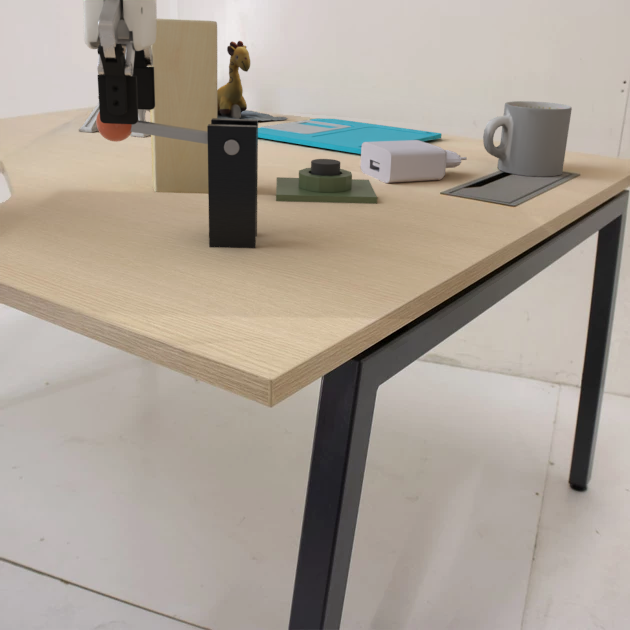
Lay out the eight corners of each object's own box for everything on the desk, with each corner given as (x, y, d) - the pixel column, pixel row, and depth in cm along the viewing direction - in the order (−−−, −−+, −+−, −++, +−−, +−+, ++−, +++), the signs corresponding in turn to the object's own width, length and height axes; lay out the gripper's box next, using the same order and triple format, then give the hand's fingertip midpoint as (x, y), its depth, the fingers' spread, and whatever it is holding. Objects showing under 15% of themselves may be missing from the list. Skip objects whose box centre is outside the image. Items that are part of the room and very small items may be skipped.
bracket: (166, 267, 74) (161, 127, 69) (178, 240, 82) (174, 114, 78) (295, 269, 75) (298, 131, 70) (294, 242, 83) (297, 117, 78)
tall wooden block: (211, 183, 109) (208, 19, 101) (219, 195, 102) (217, 21, 94) (151, 184, 107) (144, 17, 99) (156, 197, 100) (149, 19, 92)
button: (311, 178, 96) (311, 163, 96) (310, 172, 100) (310, 158, 99) (340, 179, 97) (341, 164, 96) (338, 173, 100) (339, 159, 99)
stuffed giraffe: (226, 124, 159) (227, 39, 154) (177, 116, 171) (175, 38, 166) (287, 121, 169) (290, 42, 164) (236, 114, 182) (237, 40, 177)
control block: (275, 212, 95) (276, 179, 93) (276, 193, 104) (276, 163, 102) (376, 215, 95) (378, 182, 94) (367, 196, 104) (369, 165, 103)
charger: (478, 179, 117) (388, 185, 111) (445, 167, 125) (359, 172, 119) (482, 147, 115) (391, 151, 110) (448, 137, 123) (361, 140, 118)
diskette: (365, 155, 132) (366, 149, 131) (239, 135, 147) (239, 129, 147) (442, 138, 151) (442, 133, 151) (323, 122, 167) (324, 117, 166)
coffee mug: (548, 164, 130) (557, 101, 127) (572, 177, 121) (582, 109, 118) (469, 163, 129) (475, 99, 126) (486, 175, 120) (494, 107, 116)
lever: (91, 141, 72) (93, 103, 71) (99, 135, 76) (101, 99, 74) (245, 165, 74) (250, 128, 73) (246, 158, 77) (251, 123, 76)
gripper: (98, -84, 75) (107, 102, 81) (47, -107, 59) (64, 128, 65) (178, -80, 75) (181, 105, 82) (149, -101, 59) (156, 131, 66)
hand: (129, 115), depth 73 cm, fingers open, 9 cm apart
